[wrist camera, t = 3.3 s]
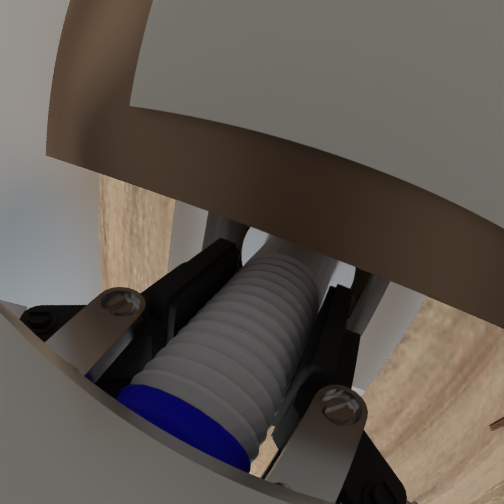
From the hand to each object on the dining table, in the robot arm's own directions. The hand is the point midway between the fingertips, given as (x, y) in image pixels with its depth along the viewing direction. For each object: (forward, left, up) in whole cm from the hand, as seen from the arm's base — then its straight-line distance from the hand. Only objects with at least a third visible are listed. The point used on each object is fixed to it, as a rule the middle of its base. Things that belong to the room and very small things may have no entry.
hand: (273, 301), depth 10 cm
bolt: (0, 0, -6) cm, 6 cm away
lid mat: (-1, -10, +3) cm, 11 cm away
